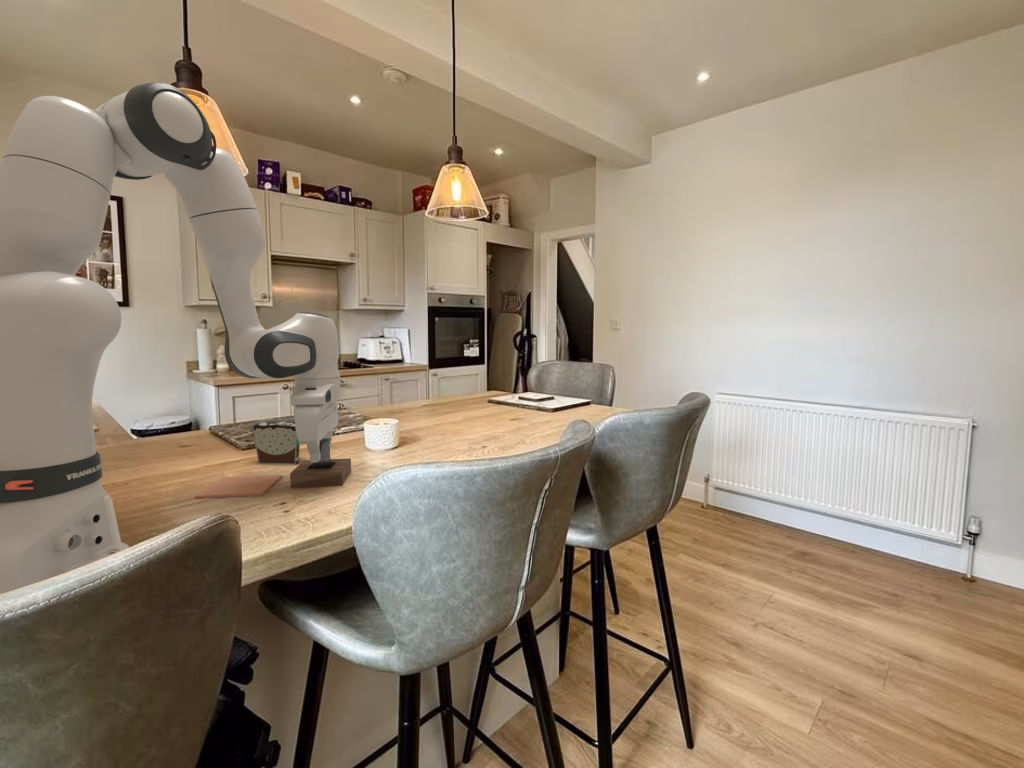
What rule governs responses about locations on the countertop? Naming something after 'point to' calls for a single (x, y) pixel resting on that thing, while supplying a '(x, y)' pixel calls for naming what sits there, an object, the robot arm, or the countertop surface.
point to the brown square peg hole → (320, 474)
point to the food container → (276, 441)
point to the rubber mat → (240, 486)
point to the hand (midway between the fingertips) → (321, 455)
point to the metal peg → (324, 453)
